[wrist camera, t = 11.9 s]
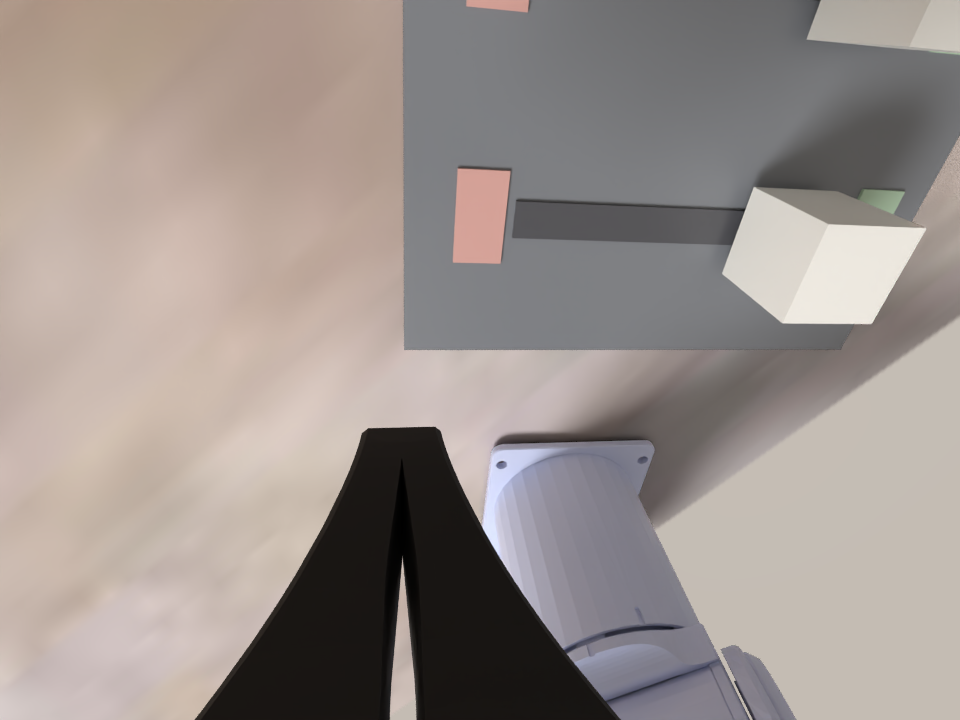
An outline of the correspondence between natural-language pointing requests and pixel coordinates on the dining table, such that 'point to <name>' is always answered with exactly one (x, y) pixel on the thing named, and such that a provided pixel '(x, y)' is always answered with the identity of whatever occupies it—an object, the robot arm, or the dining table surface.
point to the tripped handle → (818, 255)
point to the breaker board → (637, 163)
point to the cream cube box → (890, 24)
